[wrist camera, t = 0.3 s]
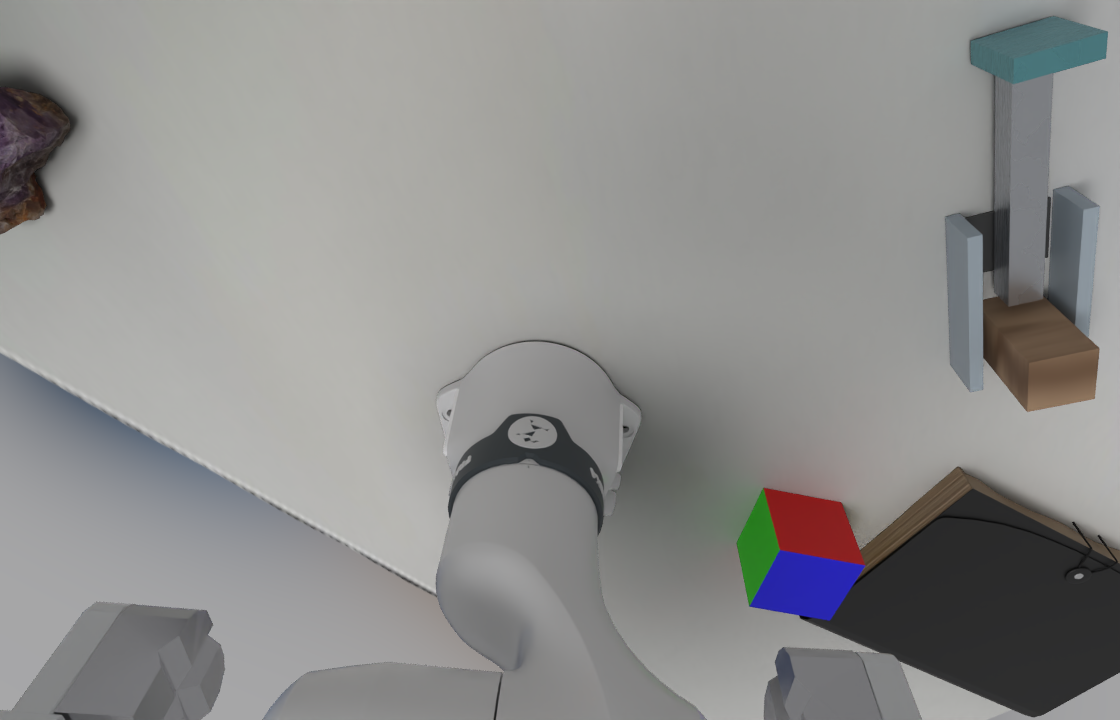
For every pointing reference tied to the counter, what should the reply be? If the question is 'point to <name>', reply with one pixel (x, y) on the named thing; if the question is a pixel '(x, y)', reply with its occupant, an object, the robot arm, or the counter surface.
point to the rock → (25, 152)
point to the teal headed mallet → (1027, 140)
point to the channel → (976, 255)
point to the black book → (988, 598)
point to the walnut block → (1039, 353)
